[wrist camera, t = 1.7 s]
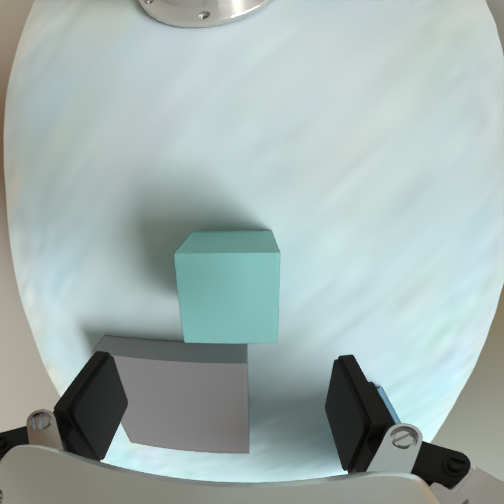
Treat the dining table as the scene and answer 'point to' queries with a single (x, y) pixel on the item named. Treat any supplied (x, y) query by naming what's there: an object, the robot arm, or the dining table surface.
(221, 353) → the gray base
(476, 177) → the dining table surface
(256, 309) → the teal cube
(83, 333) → the dining table surface
